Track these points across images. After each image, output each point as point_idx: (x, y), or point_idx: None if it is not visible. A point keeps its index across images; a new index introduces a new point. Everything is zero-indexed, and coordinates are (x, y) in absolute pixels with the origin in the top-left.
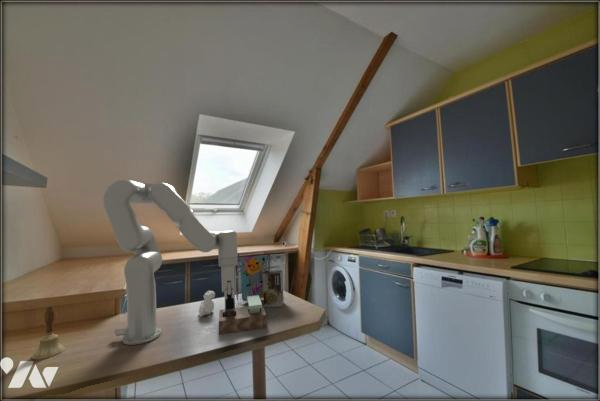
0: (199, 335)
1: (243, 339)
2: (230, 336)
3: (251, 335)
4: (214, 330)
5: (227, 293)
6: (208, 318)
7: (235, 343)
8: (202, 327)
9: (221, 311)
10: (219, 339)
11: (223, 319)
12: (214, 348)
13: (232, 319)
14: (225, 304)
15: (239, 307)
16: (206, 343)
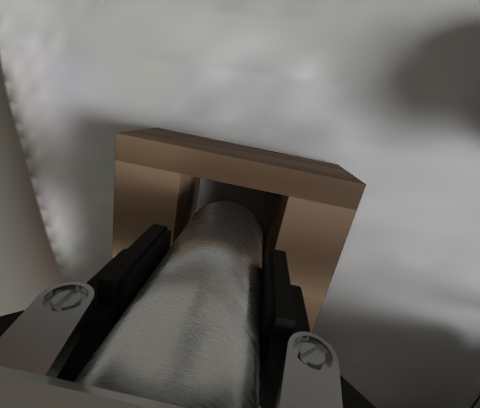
0: (201, 5)
1: (62, 225)
2: (113, 179)
3: (89, 264)
4: (228, 112)
5: (78, 378)
6: (461, 100)
7: (34, 184)
8: (321, 38)
9: (316, 191)
10: (100, 120)
11: (136, 173)
12: (10, 79)
13: (113, 228)
14: (183, 243)
15: (314, 320)
16: (77, 42)
